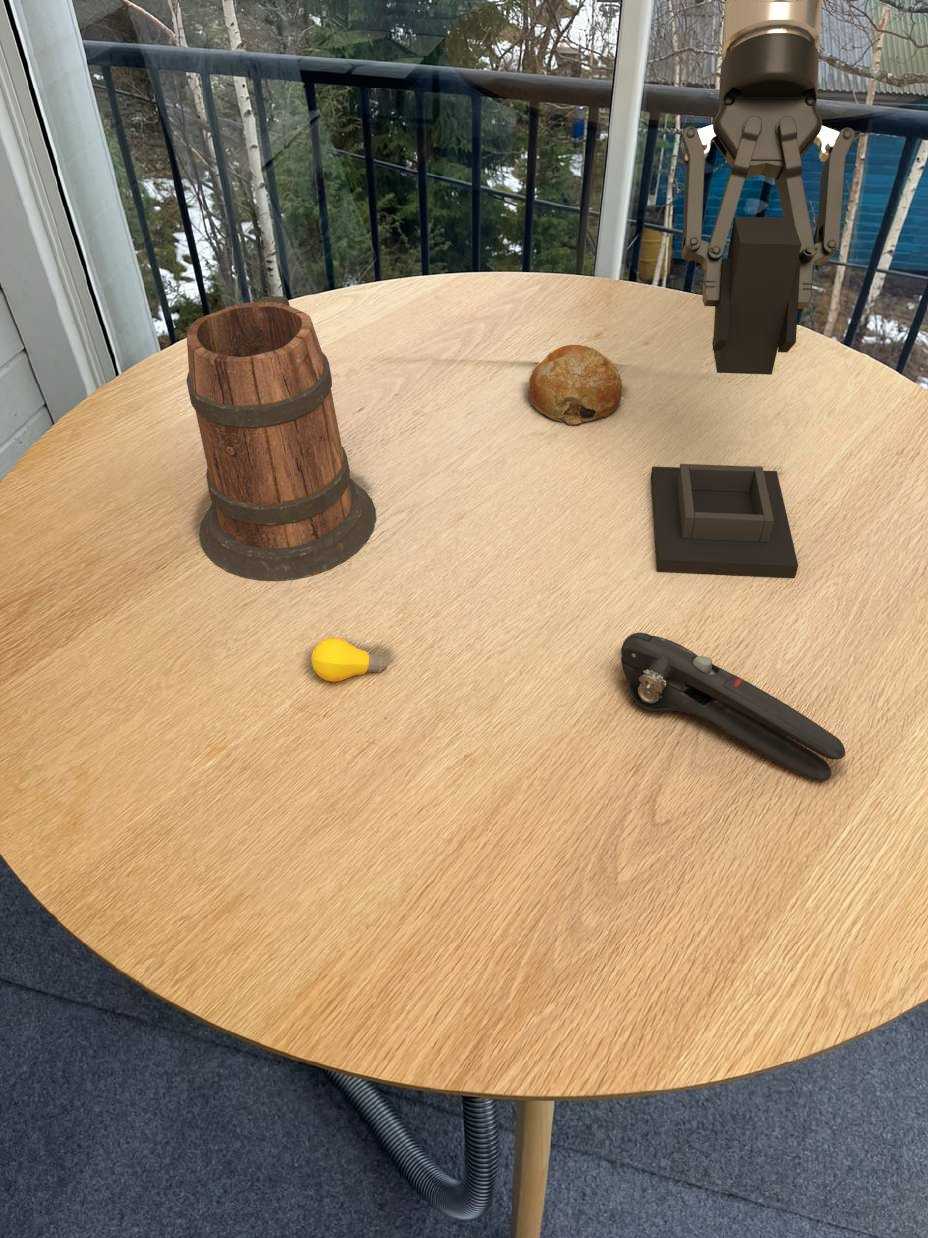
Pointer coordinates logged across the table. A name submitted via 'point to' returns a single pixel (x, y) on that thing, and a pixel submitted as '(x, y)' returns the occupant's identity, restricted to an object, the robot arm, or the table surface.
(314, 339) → the tankard
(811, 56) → the robot arm
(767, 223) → the tall dark pillar
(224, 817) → the table surface
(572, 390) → the bread roll
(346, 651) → the light bulb
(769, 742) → the can opener
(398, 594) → the table surface
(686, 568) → the base pad
